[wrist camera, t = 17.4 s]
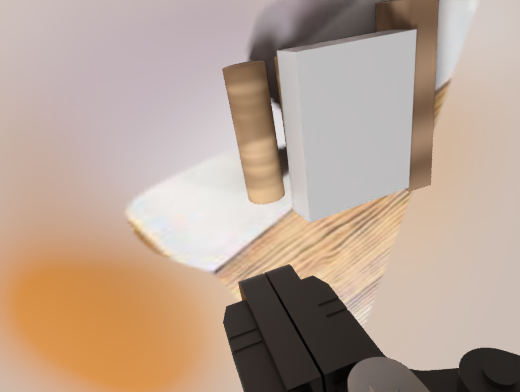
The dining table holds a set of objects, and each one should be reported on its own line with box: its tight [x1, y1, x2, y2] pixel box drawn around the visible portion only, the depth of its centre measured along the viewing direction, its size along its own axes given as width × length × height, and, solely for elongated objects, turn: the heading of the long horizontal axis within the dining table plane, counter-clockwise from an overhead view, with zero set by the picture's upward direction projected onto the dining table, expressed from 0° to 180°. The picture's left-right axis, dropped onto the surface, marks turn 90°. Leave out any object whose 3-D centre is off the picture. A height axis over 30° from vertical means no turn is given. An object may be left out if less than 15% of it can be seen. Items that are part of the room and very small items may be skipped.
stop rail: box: [376, 0, 439, 192], centre depth 36 cm, size 17×2×5 cm, turn 11°
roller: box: [223, 61, 285, 204], centre depth 34 cm, size 12×4×4 cm, turn 11°
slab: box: [277, 29, 417, 223], centre depth 33 cm, size 14×11×3 cm
